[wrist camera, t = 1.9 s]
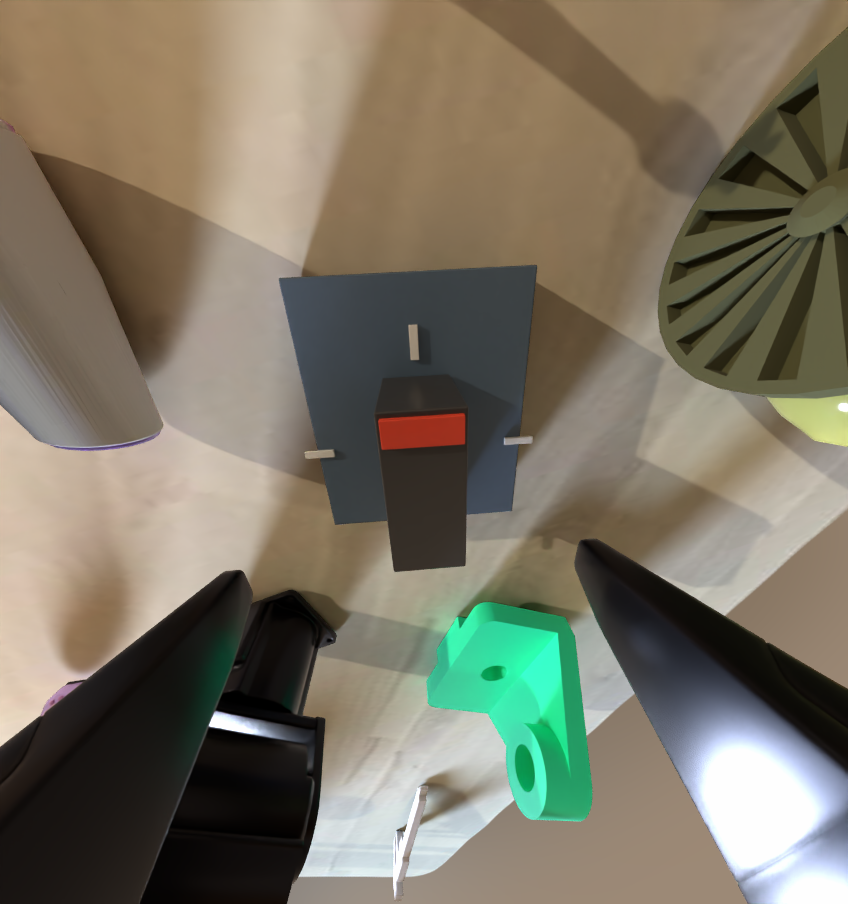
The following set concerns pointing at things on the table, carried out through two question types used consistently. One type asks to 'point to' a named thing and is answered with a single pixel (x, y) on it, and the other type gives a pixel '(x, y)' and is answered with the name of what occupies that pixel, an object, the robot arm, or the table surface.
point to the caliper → (407, 841)
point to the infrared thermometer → (60, 324)
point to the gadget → (424, 470)
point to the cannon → (773, 259)
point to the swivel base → (412, 369)
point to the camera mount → (522, 702)
